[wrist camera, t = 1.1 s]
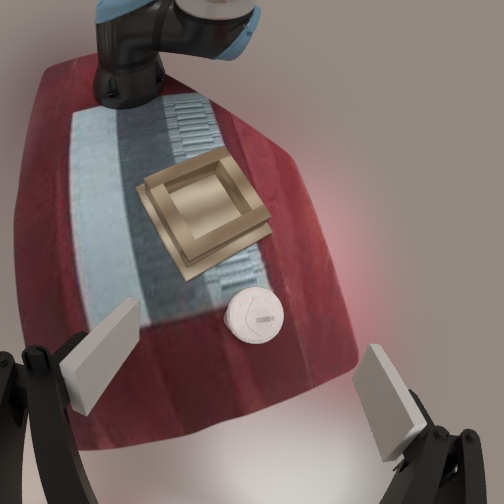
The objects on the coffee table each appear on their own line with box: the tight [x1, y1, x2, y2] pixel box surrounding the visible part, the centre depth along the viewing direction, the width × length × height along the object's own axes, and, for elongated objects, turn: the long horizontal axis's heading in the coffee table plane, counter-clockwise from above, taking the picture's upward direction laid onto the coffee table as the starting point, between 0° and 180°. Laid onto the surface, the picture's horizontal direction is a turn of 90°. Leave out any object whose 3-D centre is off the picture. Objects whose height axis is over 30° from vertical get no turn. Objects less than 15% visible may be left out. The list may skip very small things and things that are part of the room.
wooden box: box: [136, 146, 273, 282], centre depth 39 cm, size 16×15×6 cm
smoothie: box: [224, 287, 284, 344], centre depth 32 cm, size 6×6×14 cm
